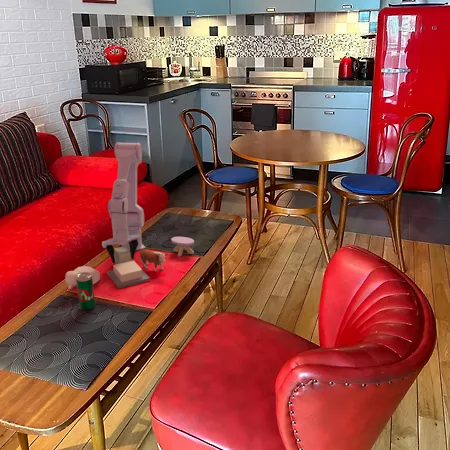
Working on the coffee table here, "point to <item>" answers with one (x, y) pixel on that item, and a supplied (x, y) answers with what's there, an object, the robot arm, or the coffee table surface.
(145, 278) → the tower base
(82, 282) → the soda can
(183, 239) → the toy table
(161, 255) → the bull figurine
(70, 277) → the white lumpy shape
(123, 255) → the sage brick
